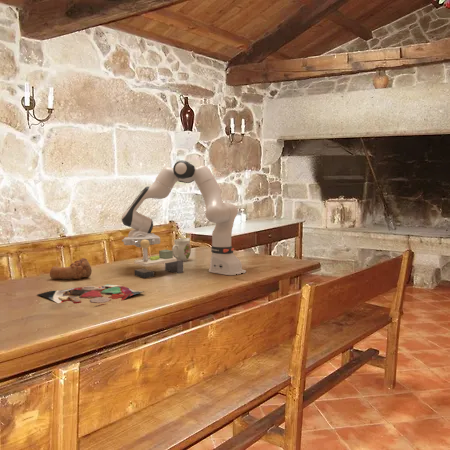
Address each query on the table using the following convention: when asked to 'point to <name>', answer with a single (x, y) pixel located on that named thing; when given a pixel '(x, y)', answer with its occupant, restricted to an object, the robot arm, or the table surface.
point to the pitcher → (182, 249)
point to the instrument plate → (154, 262)
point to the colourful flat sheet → (90, 294)
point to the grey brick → (171, 266)
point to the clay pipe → (72, 270)
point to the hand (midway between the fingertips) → (144, 242)
